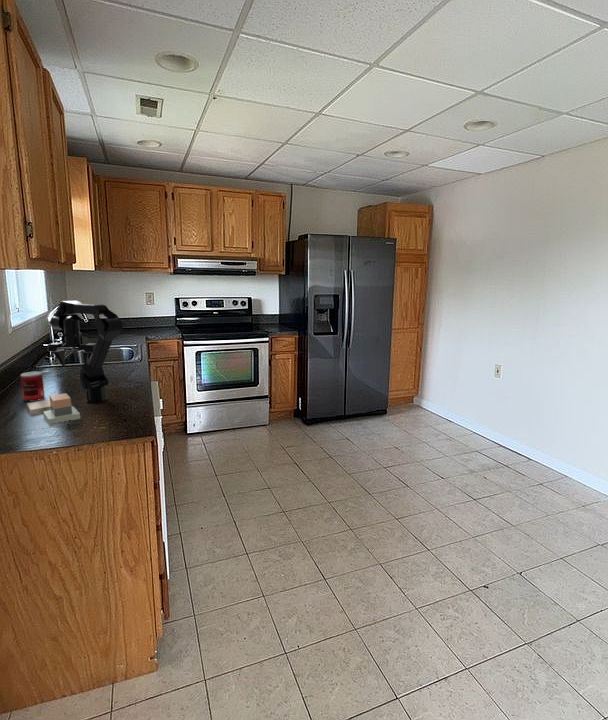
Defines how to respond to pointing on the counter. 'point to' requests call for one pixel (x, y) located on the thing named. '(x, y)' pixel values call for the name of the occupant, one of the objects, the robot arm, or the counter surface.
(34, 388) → the canned food
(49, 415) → the stand
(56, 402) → the housing cover
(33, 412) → the stand
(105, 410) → the counter surface
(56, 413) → the housing base
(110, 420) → the counter surface
